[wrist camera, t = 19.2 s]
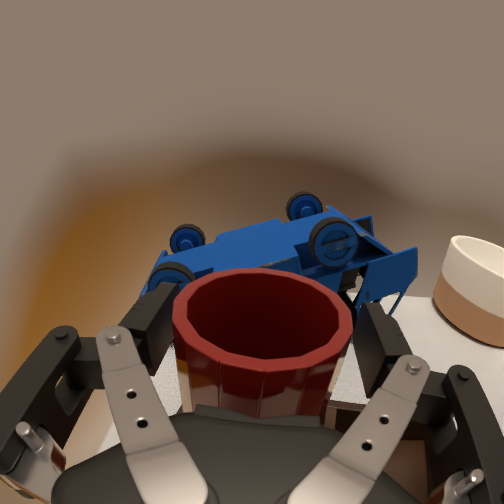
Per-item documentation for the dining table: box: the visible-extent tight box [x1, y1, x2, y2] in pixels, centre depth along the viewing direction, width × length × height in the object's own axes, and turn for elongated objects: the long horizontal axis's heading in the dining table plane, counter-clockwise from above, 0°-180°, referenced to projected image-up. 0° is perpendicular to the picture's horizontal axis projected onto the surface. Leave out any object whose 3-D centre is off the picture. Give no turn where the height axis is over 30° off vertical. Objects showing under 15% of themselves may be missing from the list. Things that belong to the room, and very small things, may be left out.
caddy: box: [176, 400, 434, 504], centre depth 13 cm, size 9×18×4 cm, turn 74°
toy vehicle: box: [139, 191, 418, 340], centre depth 30 cm, size 25×12×12 cm, turn 94°
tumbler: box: [172, 268, 353, 422], centre depth 12 cm, size 6×6×12 cm
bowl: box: [433, 236, 504, 347], centre depth 31 cm, size 17×17×8 cm
